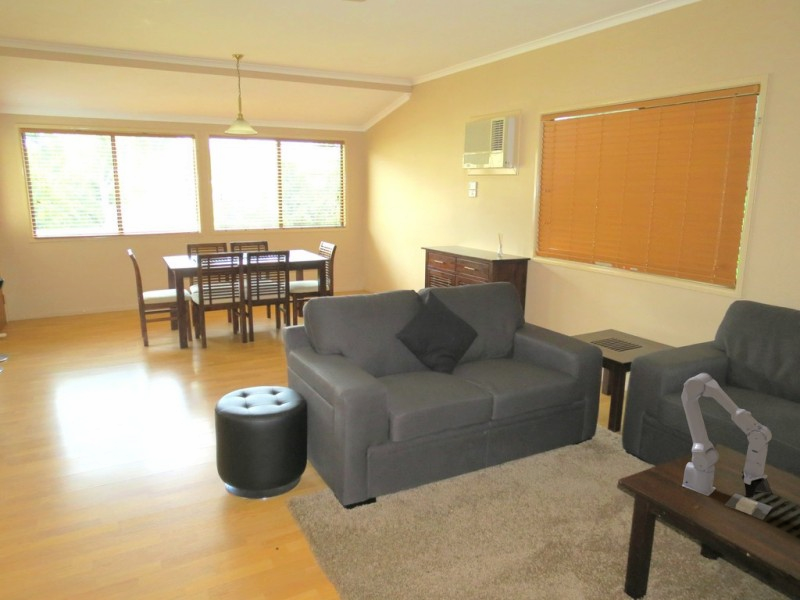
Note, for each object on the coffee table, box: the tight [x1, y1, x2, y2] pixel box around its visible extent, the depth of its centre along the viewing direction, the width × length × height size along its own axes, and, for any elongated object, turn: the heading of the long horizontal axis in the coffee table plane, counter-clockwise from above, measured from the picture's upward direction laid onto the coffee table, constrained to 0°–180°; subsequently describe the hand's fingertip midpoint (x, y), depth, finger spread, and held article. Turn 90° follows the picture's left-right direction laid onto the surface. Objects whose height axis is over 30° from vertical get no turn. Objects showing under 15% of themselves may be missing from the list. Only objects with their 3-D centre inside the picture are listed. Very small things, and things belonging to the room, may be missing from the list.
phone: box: [741, 470, 772, 495], centre depth 216 cm, size 8×1×15 cm
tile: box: [734, 496, 758, 516], centre depth 198 cm, size 5×2×7 cm
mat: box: [724, 492, 773, 521], centre depth 200 cm, size 12×12×1 cm
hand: (749, 495), depth 198 cm, fingers closed
